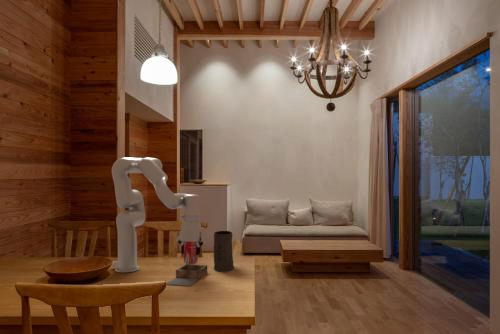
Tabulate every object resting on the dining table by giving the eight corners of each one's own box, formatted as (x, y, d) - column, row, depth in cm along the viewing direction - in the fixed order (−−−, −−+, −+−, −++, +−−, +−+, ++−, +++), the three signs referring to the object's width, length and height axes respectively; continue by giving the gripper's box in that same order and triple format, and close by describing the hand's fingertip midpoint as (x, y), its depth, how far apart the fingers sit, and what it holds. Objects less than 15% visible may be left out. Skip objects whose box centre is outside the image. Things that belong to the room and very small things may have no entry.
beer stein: (230, 272, 192) (230, 234, 192) (210, 271, 194) (210, 233, 195) (237, 265, 207) (237, 229, 208) (219, 264, 209) (219, 228, 210)
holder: (176, 278, 182) (176, 270, 183) (185, 271, 194) (185, 264, 194) (199, 279, 180) (199, 271, 180) (207, 273, 191) (207, 265, 192)
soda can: (184, 261, 191) (184, 238, 191) (198, 261, 191) (198, 238, 191) (182, 265, 183) (183, 241, 183) (197, 265, 184) (197, 241, 184)
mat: (166, 284, 172) (166, 283, 172) (175, 278, 182) (175, 277, 182) (190, 286, 169) (190, 285, 169) (198, 280, 179) (198, 279, 179)
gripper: (172, 218, 186) (171, 254, 186) (205, 220, 182) (204, 257, 182) (178, 217, 193) (177, 251, 193) (210, 218, 189) (209, 253, 189)
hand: (190, 253), depth 187 cm, fingers closed on soda can, 7 cm apart
